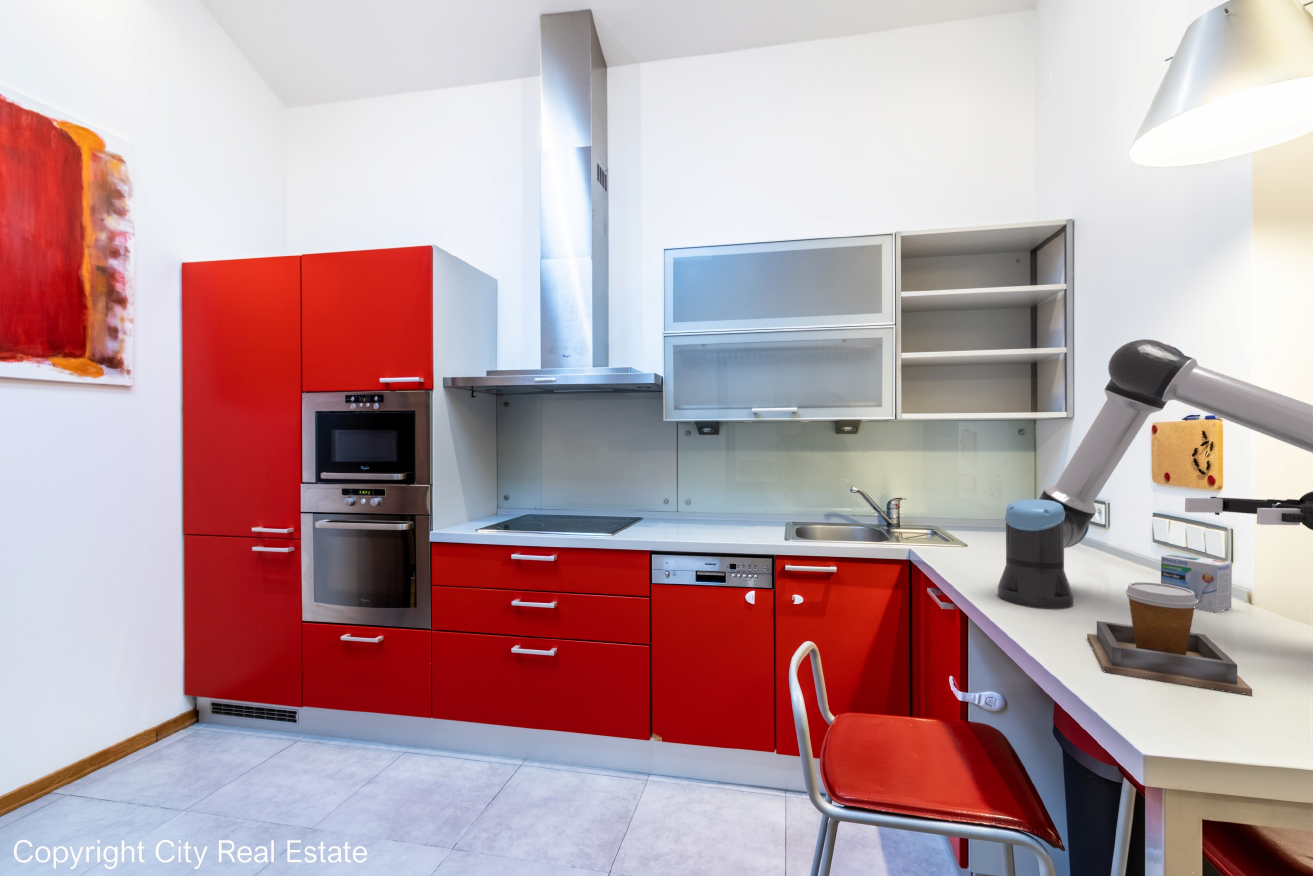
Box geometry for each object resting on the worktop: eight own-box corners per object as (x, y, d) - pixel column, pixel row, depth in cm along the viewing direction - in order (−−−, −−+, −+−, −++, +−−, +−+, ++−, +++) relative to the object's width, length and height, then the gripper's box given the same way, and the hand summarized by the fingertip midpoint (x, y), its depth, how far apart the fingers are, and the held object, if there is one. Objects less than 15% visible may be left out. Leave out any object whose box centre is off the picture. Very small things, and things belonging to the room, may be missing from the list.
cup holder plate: (1103, 671, 96) (1103, 648, 96) (1087, 638, 112) (1087, 617, 112) (1252, 695, 87) (1252, 669, 87) (1211, 655, 103) (1211, 633, 103)
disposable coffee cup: (1126, 660, 99) (1126, 590, 99) (1123, 643, 106) (1123, 578, 106) (1202, 673, 93) (1202, 599, 93) (1193, 655, 101) (1193, 586, 101)
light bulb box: (1159, 600, 137) (1159, 555, 137) (1174, 597, 140) (1174, 552, 140) (1218, 613, 127) (1218, 564, 127) (1233, 609, 130) (1233, 561, 130)
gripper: (1428, 547, 93) (1294, 545, 93) (1266, 520, 118) (1160, 519, 118) (1430, 500, 92) (1296, 498, 93) (1267, 483, 117) (1162, 482, 118)
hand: (1220, 510), depth 105 cm, fingers open, 13 cm apart
